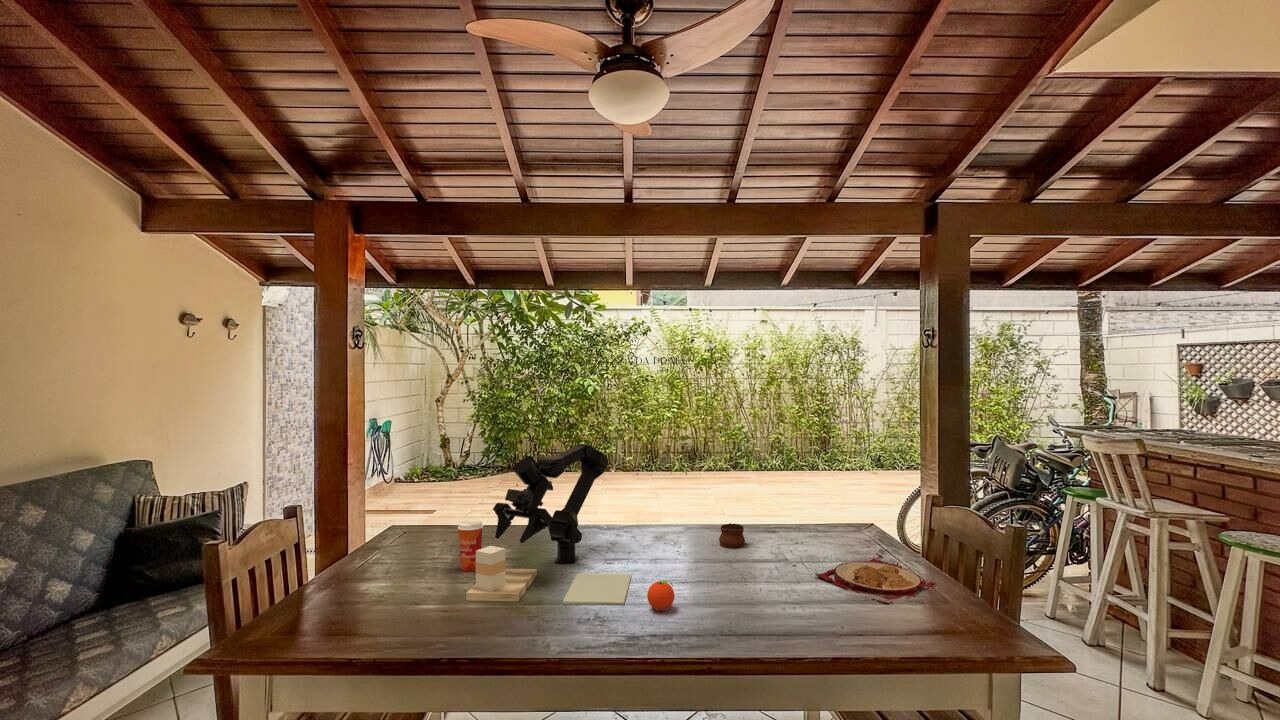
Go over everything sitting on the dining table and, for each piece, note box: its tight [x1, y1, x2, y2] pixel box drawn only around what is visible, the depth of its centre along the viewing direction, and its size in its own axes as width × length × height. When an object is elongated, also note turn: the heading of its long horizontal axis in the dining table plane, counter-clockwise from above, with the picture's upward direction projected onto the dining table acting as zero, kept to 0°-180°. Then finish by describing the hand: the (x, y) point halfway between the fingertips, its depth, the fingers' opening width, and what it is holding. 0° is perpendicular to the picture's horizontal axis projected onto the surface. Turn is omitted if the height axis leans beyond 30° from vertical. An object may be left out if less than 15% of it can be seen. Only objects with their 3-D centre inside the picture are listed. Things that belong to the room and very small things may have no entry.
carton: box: [475, 545, 507, 591], centre depth 166 cm, size 6×6×10 cm
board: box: [465, 568, 538, 602], centre depth 171 cm, size 20×14×2 cm
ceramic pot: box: [718, 523, 746, 550], centre depth 210 cm, size 18×18×7 cm
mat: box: [562, 572, 632, 606], centre depth 169 cm, size 22×16×1 cm
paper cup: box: [457, 519, 484, 572], centre depth 188 cm, size 8×8×14 cm
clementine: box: [646, 580, 675, 611], centre depth 155 cm, size 8×7×7 cm
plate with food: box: [814, 553, 937, 605], centre depth 173 cm, size 25×26×4 cm
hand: (508, 540), depth 172 cm, fingers open, 9 cm apart
